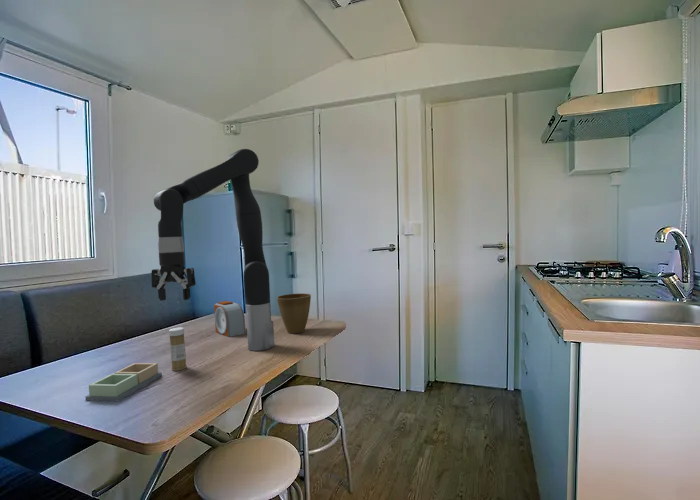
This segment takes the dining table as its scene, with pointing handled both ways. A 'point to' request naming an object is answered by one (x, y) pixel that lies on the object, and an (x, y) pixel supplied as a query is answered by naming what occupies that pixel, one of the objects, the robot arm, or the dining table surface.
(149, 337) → the dining table surface
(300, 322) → the plant pot
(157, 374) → the socket board
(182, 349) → the sprinkles bottle
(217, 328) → the alarm clock
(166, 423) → the dining table surface
